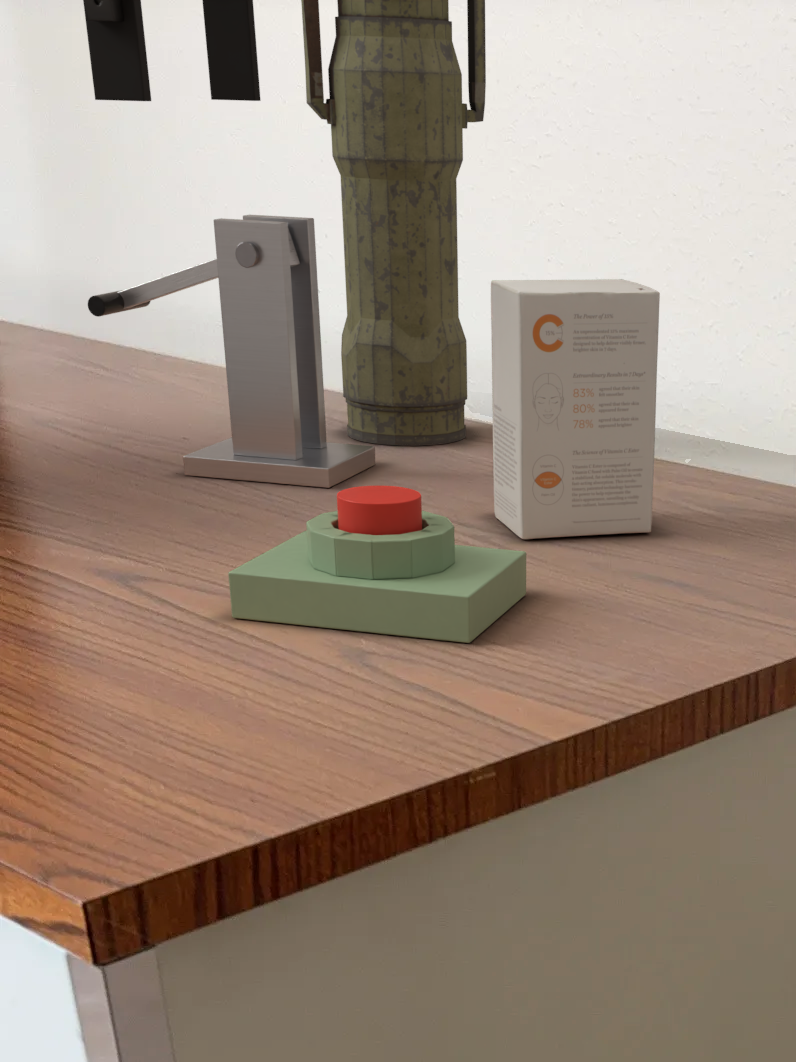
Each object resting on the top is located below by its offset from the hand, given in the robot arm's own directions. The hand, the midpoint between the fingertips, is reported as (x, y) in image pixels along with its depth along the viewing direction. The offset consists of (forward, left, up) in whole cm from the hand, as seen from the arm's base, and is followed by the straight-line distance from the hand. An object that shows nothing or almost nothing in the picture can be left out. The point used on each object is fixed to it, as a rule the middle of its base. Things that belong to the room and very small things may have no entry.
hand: (183, 101), depth 89 cm
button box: (+17, -18, -21) cm, 33 cm away
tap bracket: (-1, +10, -21) cm, 23 cm away
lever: (-5, +10, -11) cm, 16 cm away
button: (+17, -18, -17) cm, 30 cm away
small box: (+21, +2, -21) cm, 30 cm away
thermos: (+2, +25, -21) cm, 33 cm away
